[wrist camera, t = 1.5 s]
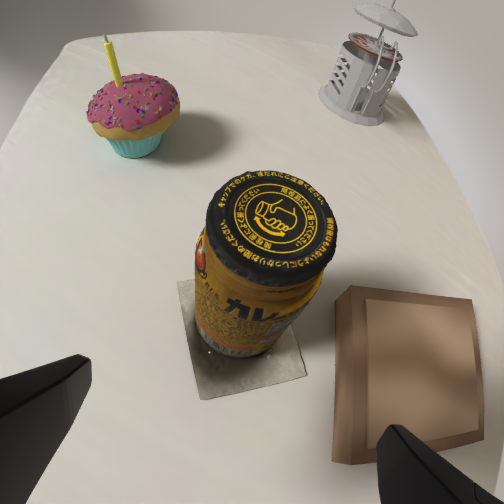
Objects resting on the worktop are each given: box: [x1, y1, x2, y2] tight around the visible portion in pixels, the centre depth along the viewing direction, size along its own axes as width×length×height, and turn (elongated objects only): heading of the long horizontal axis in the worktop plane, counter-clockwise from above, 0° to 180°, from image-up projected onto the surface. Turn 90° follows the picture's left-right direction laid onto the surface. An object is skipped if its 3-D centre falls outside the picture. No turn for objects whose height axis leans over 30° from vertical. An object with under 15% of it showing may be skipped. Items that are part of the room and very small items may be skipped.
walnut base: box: [332, 285, 484, 465], centre depth 20 cm, size 12×12×3 cm
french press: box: [318, 0, 418, 126], centre depth 28 cm, size 10×12×25 cm
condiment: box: [177, 171, 338, 400], centre depth 17 cm, size 7×8×12 cm
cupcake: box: [86, 35, 180, 158], centre depth 25 cm, size 9×8×12 cm
